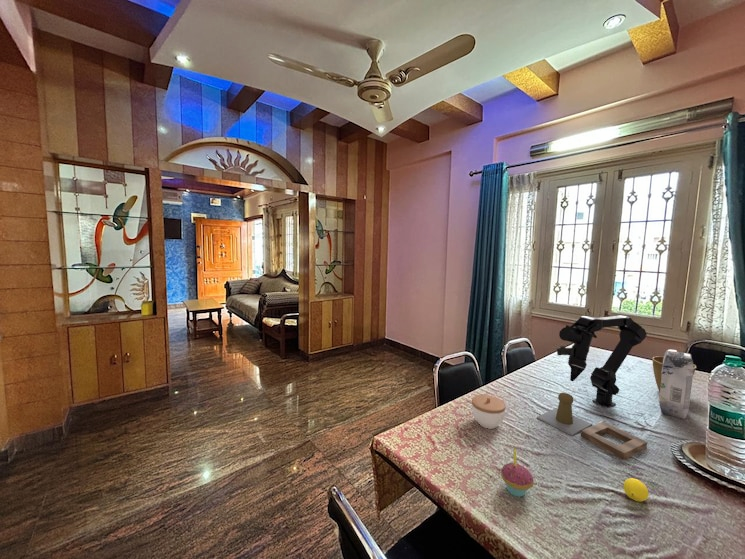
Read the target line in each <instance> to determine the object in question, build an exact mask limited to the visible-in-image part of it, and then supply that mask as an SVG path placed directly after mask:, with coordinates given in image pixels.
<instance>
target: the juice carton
mask: <svg viewBox="0 0 745 559" xmlns="http://www.w3.org/2000/svg"><path fill="white" fill-rule="evenodd" d="M663 357H664V359H663V367H662V376H661V386H660V392H659V402H658V403H659V409H660V412H661V413H662V414H664V415H668V416H671V417H675V418H679V419H683V420H685V419H686V418H687V416H688V414H689V410H690V402H691V394H692V386H693V379H694V378H693V377H694V375H693V364H694V360H693V358H692V353H688V352H687V353H686V352H680V351H678V350H676V349H667V350H665V351H664V356H663Z"/></svg>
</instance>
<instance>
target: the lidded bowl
mask: <svg viewBox="0 0 745 559" xmlns="http://www.w3.org/2000/svg"><path fill="white" fill-rule="evenodd" d="M506 406H507V405H506V403H505V402H504V400H503V399H501V398H498V397H496V396H493V395H489V394H477V395H474V396H473V397H472V398H471V411H472V415H473V417H474V420H475V421H476V422H477V423H478V425H479V424H480V425H481V427H482V428H484V429H487V428H488V430H489V429H490V430H491V429H493V430H494V429H496V428H497V427H498V426H499V425H501V424H502V423H503V420H504V418H505V414H506V409H507V408H506ZM480 425H479V426H480Z"/></svg>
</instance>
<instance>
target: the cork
mask: <svg viewBox="0 0 745 559" xmlns="http://www.w3.org/2000/svg"><path fill="white" fill-rule="evenodd" d="M557 397H558V398H557V399H558V401H559V402H558V406H557V408H558V410H557V414H556V420H557V421H559V422H560V423H563V424H568V425H569V424H573V416H574V415H573V405H572V404H573V403H574V397H573V395H572V394H570V393H567V392H561V393H559V394H558V396H557ZM572 415H573V416H572Z"/></svg>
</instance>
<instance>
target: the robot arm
mask: <svg viewBox="0 0 745 559" xmlns="http://www.w3.org/2000/svg"><path fill="white" fill-rule="evenodd" d="M613 327H614V328H615V327H617V328H618V330H619V331H620V332H619V334H618V335H619V341H618V342H617V344H616V346H615V347H614V349H613V351H612V352H611V353H610V355H609V357H608V358H607V359H606V361H605V362H604V364H603V365H602V366H601V367H598V366H596V367H595V368H593V371H592V372H591V373H590V377H589V380H590V382H591V386H592V387H593V388H595V389H596V395H595V398H594V399H592V402H594V403H596V404H598V405H601V406H603V407H605V408H610V407H613V406H616V404H617V403H616V402H613V396H616V395H618V394H619V392H620V388H619V387H618V386H617V384H616V381H617V375H616V374H617V372H618V370H619V369H620V367H621V366H622V364H623V362H624V361H625V360H626V358H627V356H628V355H629V354H630V352H631V350H632V349H633V347H635V346H637V345H640V344H641V343H642V342H643V341H644V340H645V339H646V337H647V334H648V333H647V332H646V329H645V328H643V326H641V325H640V324H638V323H637V322H636V321H634V320H633V318H631V317H629V316H626V315H621V314H620V315H613V316H602V317H594V316H587V315H582V316H580V317H579V318H578V319H577V320H576V321H575V322H574V323H573V324H571V325H568V324H566V325H565V327H563V328H562V329H561V330H559V333H558V334H559V335H558V336H559V338H560V339H561V340H562V341H565V342H568V343H572V346H571V347H566V346H564V345H563V346H562V345H561V346H560V347H556V353H557V355H556V356H568V361H567V365H568V366H569V367H570V378H569V381H571V382H575V380H576V379H577V378H578V377H579V376H580V375H581V374H582V373H583V372H584V371H585V370H586V368H587V365H588V364H587V358H588V354H589V353H590V347H591V344H592V341H593V338H594V339H597V338H598V337H597V335H596V334H595V332H600V331H601V330H602V329H604V328H613Z"/></svg>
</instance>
